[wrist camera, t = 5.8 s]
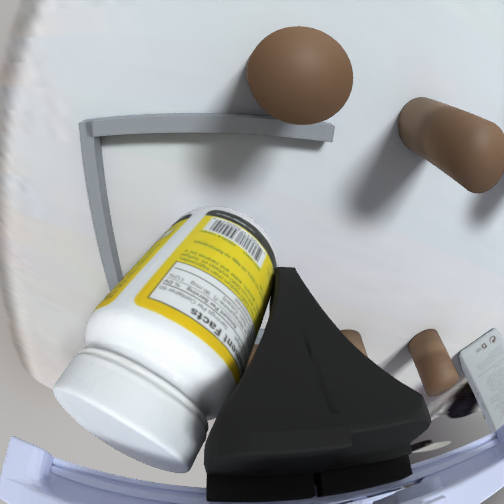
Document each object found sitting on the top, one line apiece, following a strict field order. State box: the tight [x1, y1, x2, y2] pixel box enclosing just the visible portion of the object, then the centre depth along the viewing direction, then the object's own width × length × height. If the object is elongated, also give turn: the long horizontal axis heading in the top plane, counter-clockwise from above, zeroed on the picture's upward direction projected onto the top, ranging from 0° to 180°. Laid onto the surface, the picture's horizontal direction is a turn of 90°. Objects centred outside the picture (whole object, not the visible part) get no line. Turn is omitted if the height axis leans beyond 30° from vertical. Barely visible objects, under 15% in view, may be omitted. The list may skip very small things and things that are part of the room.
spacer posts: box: [245, 26, 504, 397], centre depth 12 cm, size 17×15×4 cm
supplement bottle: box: [53, 206, 278, 473], centre depth 9 cm, size 5×5×8 cm
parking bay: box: [79, 113, 335, 344], centre depth 13 cm, size 12×9×1 cm
